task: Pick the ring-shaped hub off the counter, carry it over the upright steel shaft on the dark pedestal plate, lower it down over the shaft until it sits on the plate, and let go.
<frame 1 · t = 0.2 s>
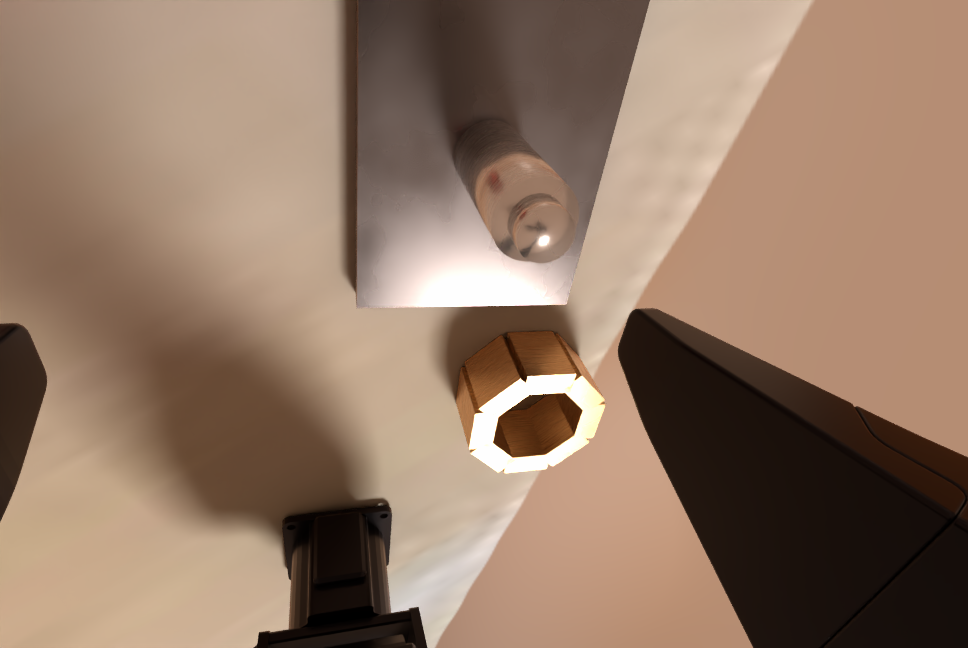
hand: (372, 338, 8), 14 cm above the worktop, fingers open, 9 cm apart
hub: (518, 381, 30), on the worktop
shaft stand: (482, 146, 22), on the worktop
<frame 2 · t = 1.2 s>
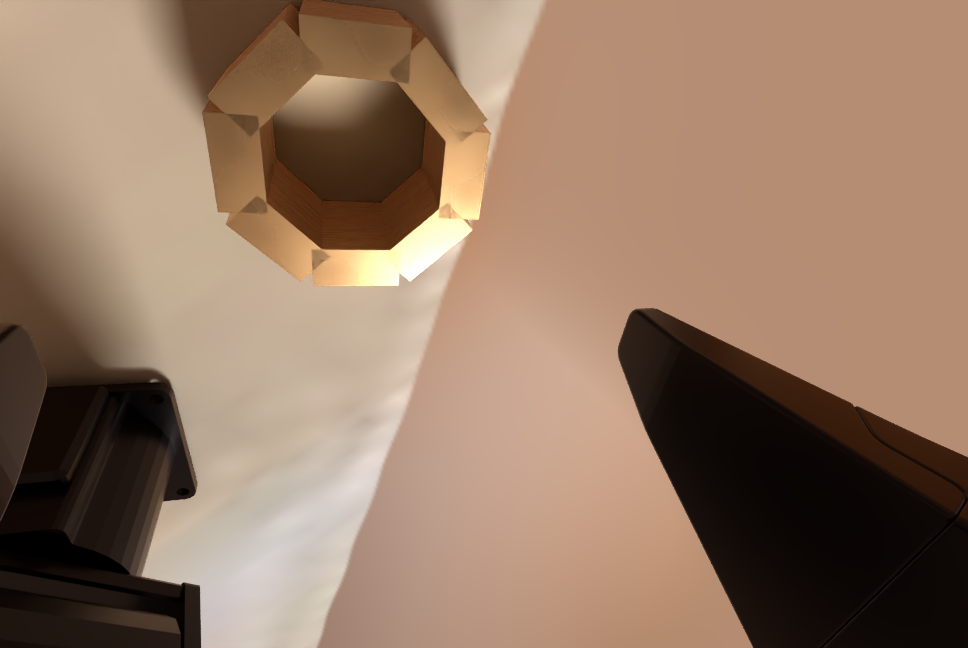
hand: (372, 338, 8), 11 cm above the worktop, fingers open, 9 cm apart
hub: (351, 132, 17), on the worktop
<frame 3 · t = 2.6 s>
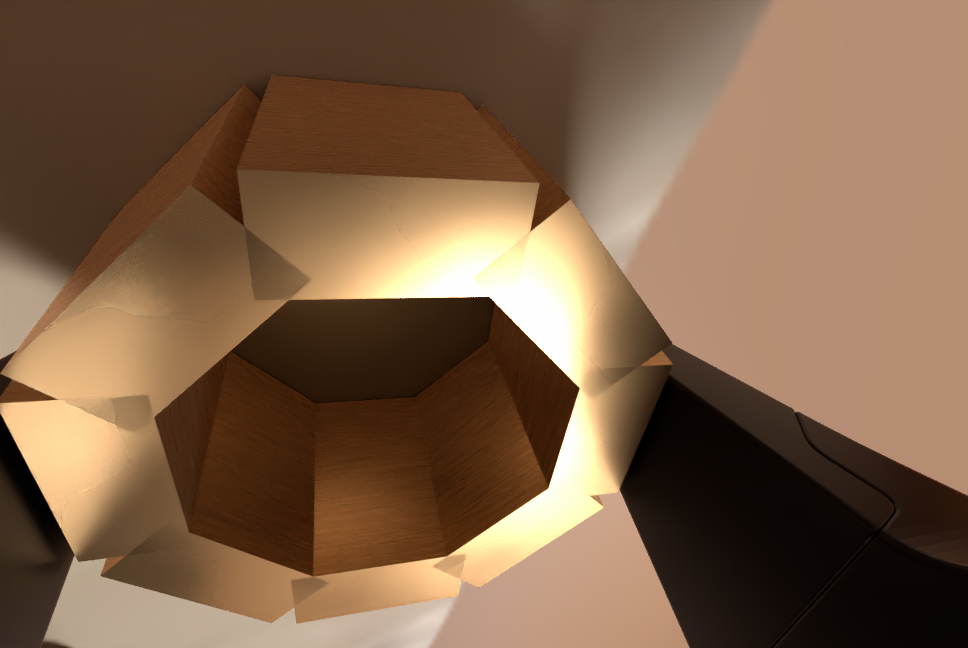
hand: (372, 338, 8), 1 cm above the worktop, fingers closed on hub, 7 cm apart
hub: (367, 301, 9), on the worktop, touching gripper
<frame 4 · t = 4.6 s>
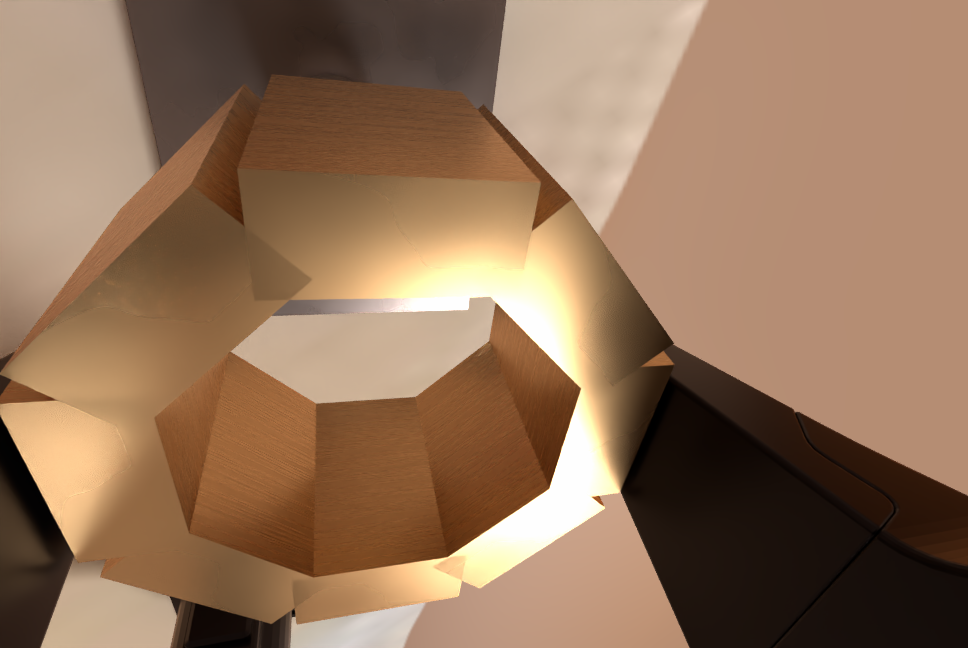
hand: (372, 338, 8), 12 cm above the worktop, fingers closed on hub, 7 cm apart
hub: (368, 301, 9), point 11 cm above the worktop, touching gripper
shaft stand: (333, 113, 17), on the worktop
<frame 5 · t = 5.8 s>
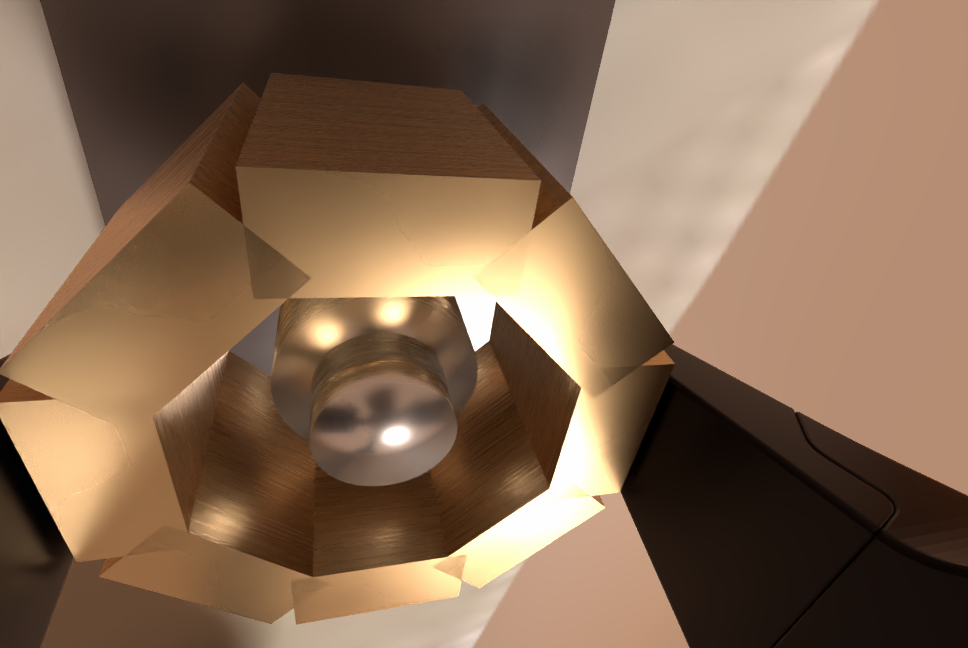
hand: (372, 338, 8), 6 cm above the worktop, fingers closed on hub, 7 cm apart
hub: (368, 301, 9), point 5 cm above the worktop, touching gripper
shaft stand: (355, 191, 13), on the worktop
when the fingers open (3 cm above the worktop, at t = 6.9 s): hub stays where it is, resting on shaft stand.
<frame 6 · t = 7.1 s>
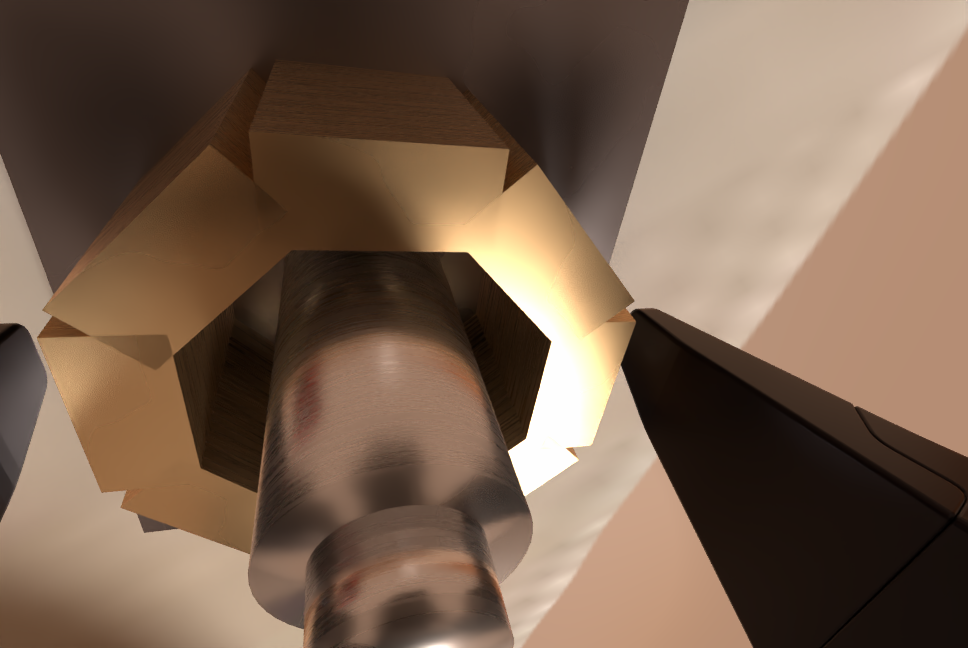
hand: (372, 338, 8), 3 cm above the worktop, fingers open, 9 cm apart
hub: (363, 273, 10), point 1 cm above the worktop, touching shaft stand
shaft stand: (361, 242, 11), on the worktop
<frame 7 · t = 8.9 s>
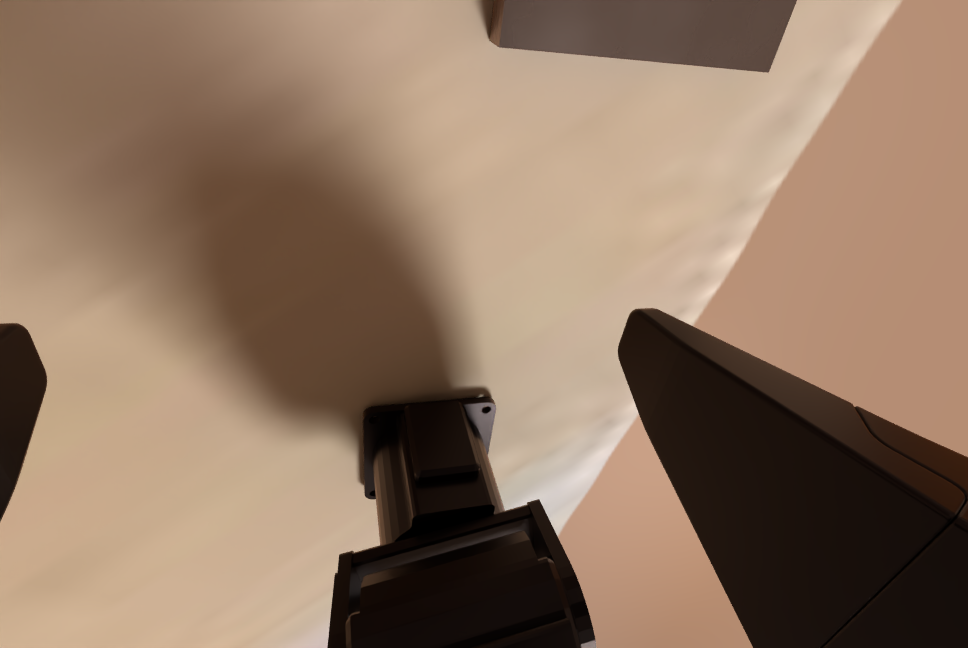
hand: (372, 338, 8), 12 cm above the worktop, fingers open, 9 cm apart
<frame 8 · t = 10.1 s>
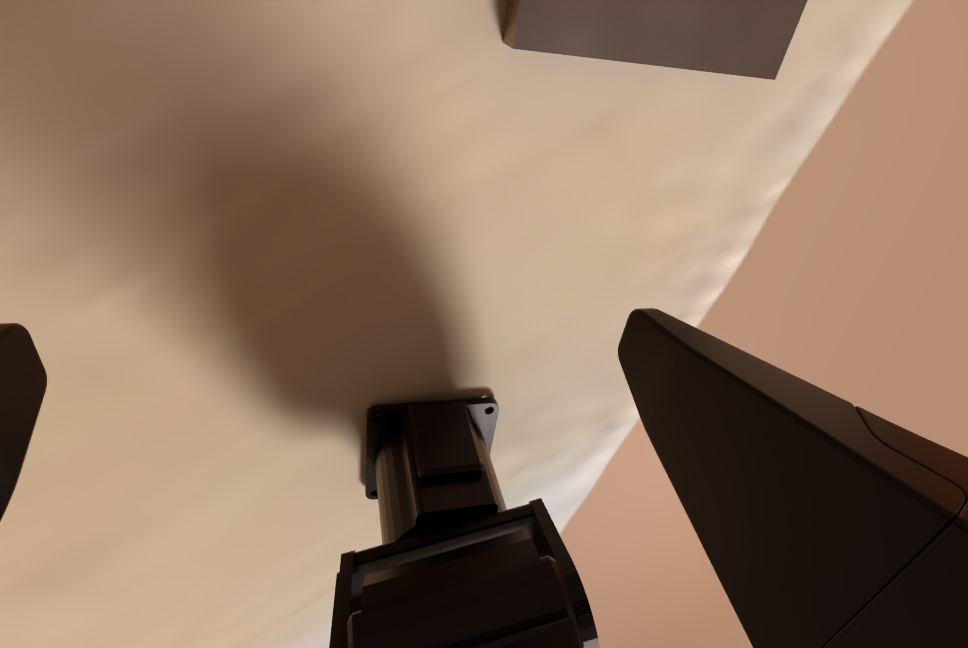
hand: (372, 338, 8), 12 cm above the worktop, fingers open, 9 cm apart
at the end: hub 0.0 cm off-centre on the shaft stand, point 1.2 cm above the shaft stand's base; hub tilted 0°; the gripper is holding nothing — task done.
